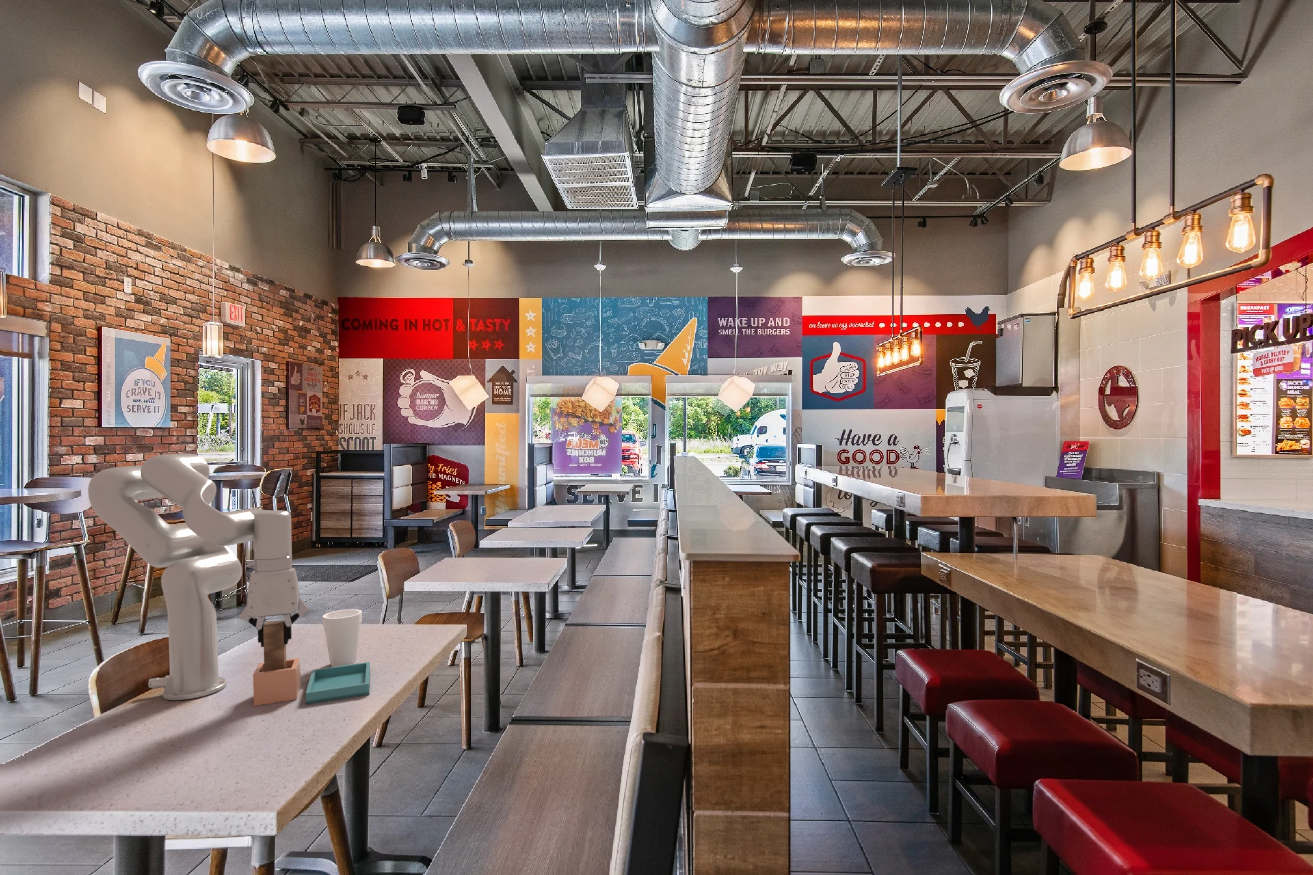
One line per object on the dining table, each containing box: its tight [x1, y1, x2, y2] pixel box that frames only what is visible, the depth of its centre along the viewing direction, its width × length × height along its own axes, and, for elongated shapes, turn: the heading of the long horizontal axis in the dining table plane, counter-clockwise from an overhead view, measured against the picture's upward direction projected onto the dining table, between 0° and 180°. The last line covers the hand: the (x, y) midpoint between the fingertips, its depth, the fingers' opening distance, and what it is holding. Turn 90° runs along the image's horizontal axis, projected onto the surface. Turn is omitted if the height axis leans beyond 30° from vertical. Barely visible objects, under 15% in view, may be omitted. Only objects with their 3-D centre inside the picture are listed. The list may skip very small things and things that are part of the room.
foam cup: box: [322, 608, 363, 667], centre depth 182 cm, size 10×9×13 cm
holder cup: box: [252, 657, 302, 707], centre depth 159 cm, size 8×8×7 cm
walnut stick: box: [263, 619, 287, 672], centre depth 159 cm, size 4×4×12 cm
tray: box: [305, 661, 371, 705], centre depth 164 cm, size 13×17×2 cm
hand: (275, 643), depth 159 cm, fingers closed on walnut stick, 4 cm apart
